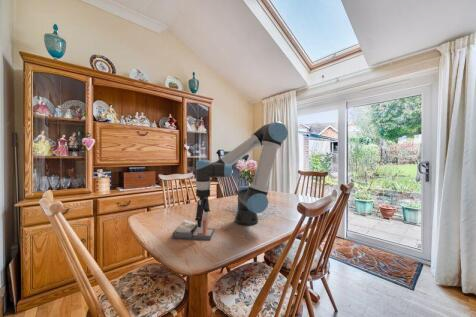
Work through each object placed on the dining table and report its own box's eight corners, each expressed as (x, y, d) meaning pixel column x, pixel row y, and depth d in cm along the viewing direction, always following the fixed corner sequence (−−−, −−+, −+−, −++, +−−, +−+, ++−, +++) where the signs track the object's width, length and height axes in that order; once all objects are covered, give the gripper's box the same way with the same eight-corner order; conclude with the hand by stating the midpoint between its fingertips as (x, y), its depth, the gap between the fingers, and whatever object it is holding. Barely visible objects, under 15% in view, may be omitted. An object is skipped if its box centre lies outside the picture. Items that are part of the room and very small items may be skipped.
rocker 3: (194, 227, 111) (193, 222, 111) (192, 229, 108) (191, 224, 108) (181, 229, 111) (181, 224, 111) (179, 231, 108) (179, 226, 108)
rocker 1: (190, 232, 107) (191, 228, 107) (189, 235, 104) (190, 230, 104) (178, 229, 107) (179, 224, 107) (176, 231, 104) (177, 226, 104)
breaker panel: (215, 230, 115) (215, 224, 115) (210, 240, 102) (210, 234, 102) (181, 229, 116) (181, 223, 116) (172, 238, 103) (172, 232, 103)
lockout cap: (208, 230, 111) (208, 217, 111) (206, 234, 106) (206, 220, 106) (199, 230, 112) (199, 217, 111) (196, 233, 107) (196, 220, 106)
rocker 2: (195, 227, 115) (196, 223, 115) (193, 229, 112) (194, 224, 112) (183, 224, 115) (184, 219, 115) (181, 225, 112) (182, 221, 112)
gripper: (202, 184, 121) (202, 219, 121) (189, 193, 96) (189, 237, 97) (214, 185, 120) (214, 220, 121) (204, 193, 95) (204, 237, 96)
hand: (203, 227), depth 109 cm, fingers open, 13 cm apart
